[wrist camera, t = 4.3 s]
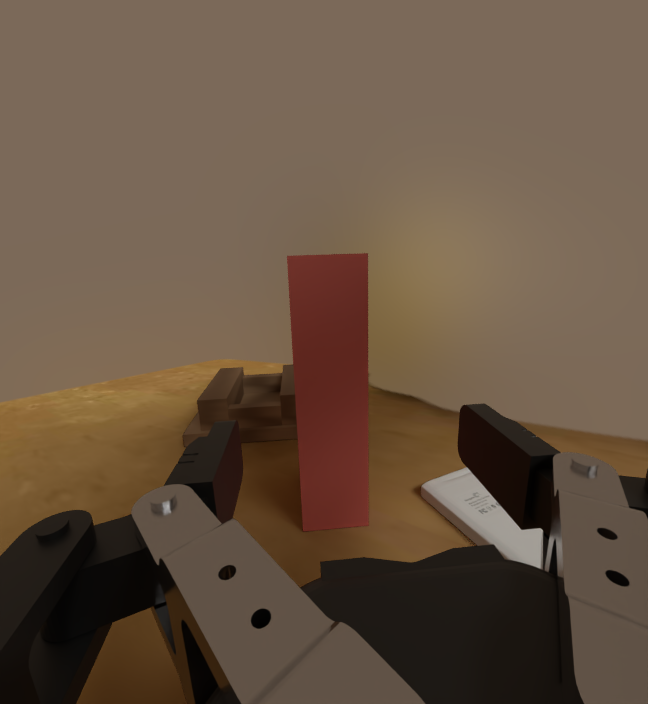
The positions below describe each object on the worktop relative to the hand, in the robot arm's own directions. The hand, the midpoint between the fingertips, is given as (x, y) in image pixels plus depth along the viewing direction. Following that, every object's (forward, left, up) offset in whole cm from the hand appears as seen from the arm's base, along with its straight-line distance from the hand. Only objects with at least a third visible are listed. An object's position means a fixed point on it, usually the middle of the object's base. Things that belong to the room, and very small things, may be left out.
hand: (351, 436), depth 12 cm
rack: (+6, -23, -10) cm, 26 cm away
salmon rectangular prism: (0, -9, -10) cm, 13 cm away
